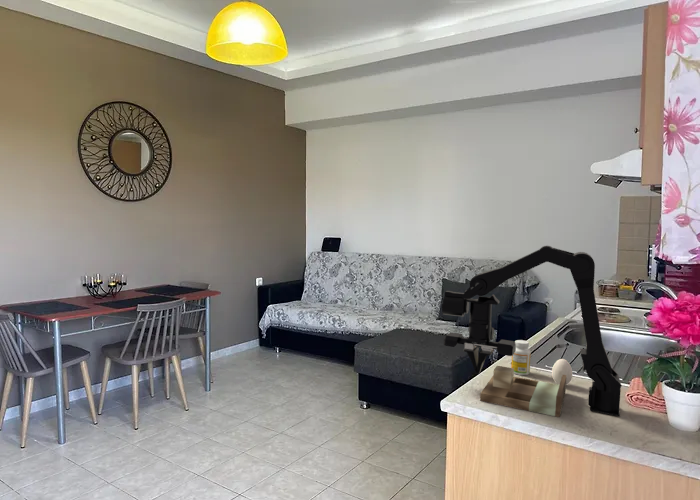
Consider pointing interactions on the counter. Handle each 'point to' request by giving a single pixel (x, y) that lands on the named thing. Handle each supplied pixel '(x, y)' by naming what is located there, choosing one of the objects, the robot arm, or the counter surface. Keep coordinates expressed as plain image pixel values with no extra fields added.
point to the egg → (561, 371)
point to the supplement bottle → (521, 358)
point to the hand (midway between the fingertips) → (477, 373)
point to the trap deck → (528, 395)
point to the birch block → (503, 377)
